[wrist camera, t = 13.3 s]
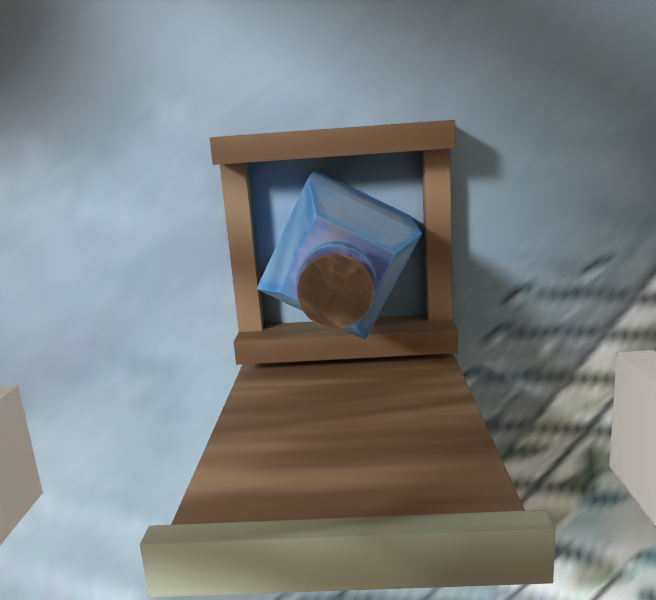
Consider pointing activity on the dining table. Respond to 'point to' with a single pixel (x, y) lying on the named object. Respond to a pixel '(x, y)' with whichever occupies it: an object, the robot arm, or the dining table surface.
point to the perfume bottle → (339, 255)
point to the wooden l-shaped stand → (346, 429)
